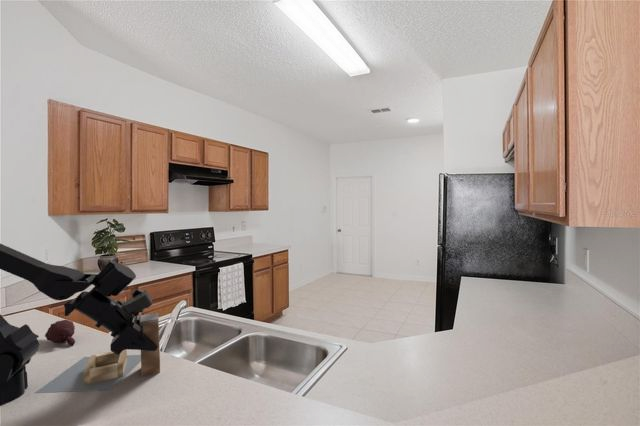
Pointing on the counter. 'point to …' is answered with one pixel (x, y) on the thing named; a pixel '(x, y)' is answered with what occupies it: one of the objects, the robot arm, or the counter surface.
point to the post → (151, 330)
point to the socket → (105, 367)
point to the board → (75, 379)
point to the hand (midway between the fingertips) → (156, 344)
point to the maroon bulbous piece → (61, 332)
